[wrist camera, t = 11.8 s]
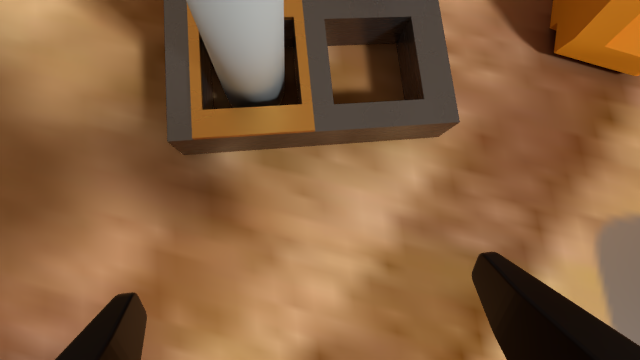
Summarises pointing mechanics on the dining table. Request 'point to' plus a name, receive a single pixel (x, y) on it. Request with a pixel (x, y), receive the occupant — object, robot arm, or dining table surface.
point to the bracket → (599, 32)
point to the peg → (244, 48)
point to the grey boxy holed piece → (314, 80)
